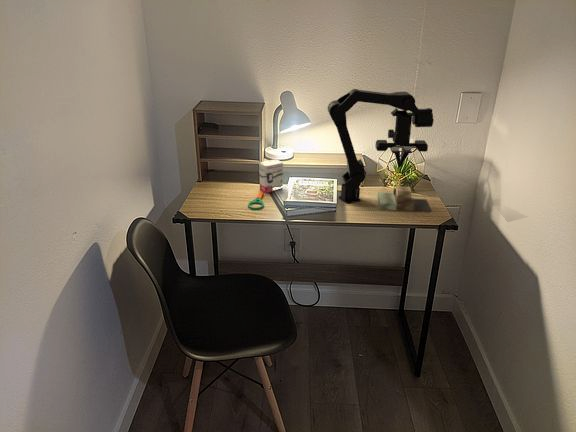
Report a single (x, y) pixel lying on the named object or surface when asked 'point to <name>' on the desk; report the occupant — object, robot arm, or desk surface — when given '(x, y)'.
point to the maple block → (403, 192)
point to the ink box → (270, 175)
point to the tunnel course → (401, 202)
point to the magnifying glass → (257, 202)
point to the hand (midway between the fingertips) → (399, 167)
